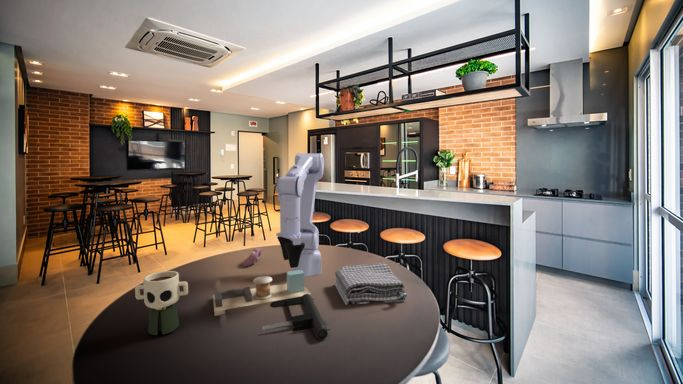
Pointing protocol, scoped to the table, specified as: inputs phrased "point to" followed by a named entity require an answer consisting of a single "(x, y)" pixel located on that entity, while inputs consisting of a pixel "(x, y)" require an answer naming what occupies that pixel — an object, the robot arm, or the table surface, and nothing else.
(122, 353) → the table surface
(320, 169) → the robot arm
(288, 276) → the pale blue block
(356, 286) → the towel
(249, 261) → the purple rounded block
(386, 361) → the table surface
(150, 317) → the character mug
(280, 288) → the winding board
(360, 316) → the table surface
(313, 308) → the door handle
